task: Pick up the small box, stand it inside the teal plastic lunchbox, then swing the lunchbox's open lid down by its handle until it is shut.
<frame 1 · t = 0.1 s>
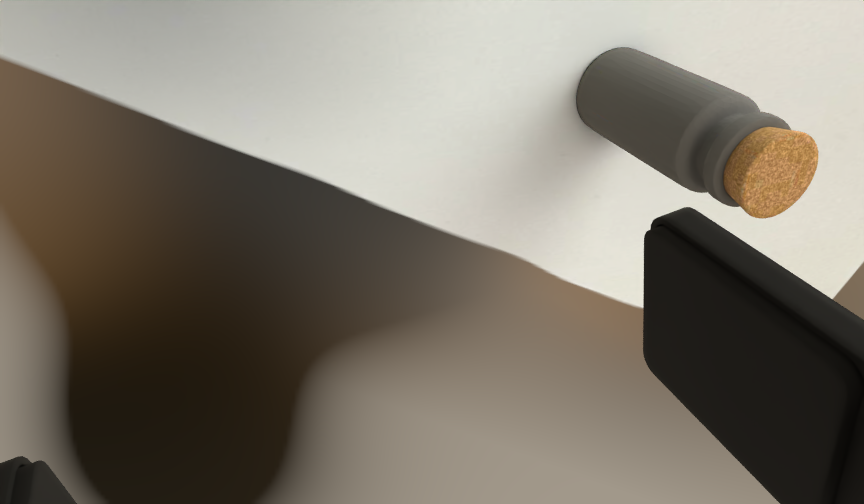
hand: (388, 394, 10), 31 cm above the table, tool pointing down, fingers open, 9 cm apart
bottle: (611, 89, 47), on the table
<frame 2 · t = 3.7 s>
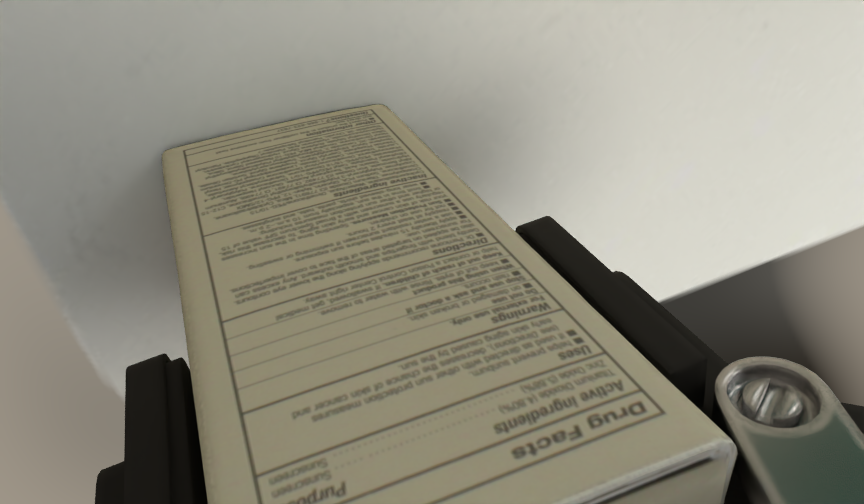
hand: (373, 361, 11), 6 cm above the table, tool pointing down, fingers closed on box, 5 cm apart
box: (299, 202, 16), on the table, touching gripper
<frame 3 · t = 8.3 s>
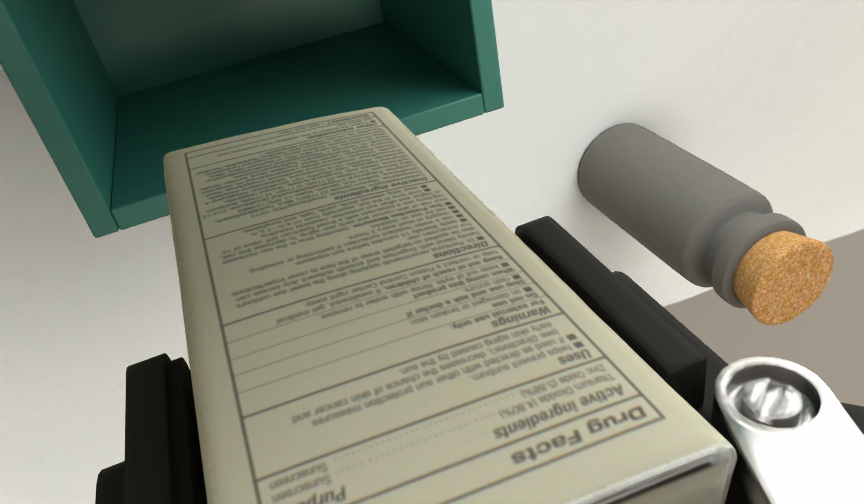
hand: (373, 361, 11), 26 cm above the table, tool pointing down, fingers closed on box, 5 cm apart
box: (300, 204, 16), point 20 cm above the table, touching gripper
bottle: (614, 164, 45), on the table
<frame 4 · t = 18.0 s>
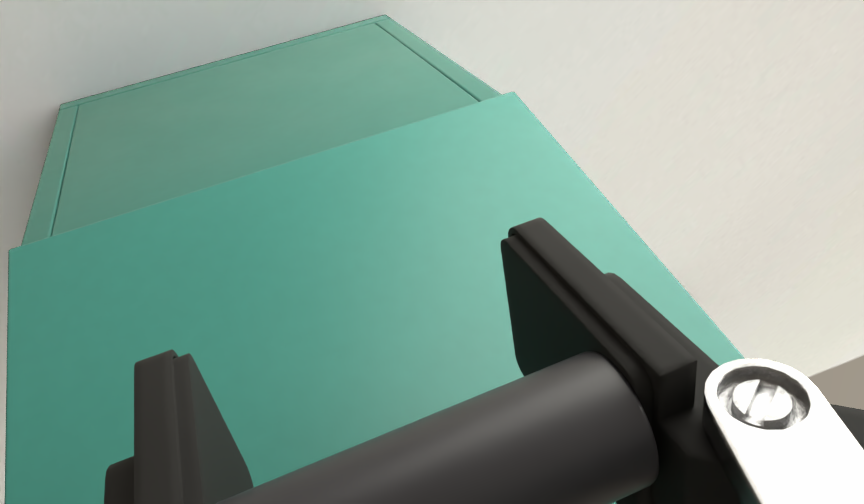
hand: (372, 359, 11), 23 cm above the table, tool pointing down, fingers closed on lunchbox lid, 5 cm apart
lunchbox lid: (344, 302, 13), point 21 cm above the table, hinge at 75.0°, touching gripper
lunchbox: (276, 189, 34), on the table
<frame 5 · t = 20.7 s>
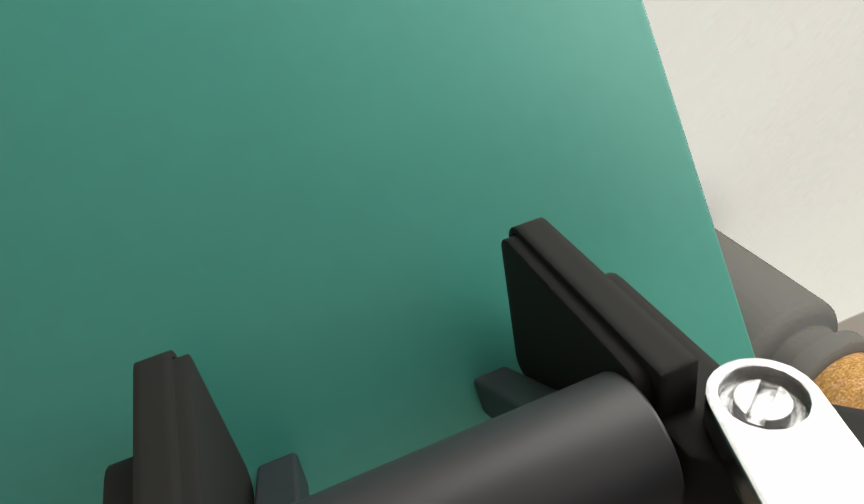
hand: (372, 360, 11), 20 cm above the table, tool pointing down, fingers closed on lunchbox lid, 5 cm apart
lunchbox lid: (302, 142, 10), point 19 cm above the table, hinge at 31.3°, touching gripper
bottle: (650, 246, 41), on the table
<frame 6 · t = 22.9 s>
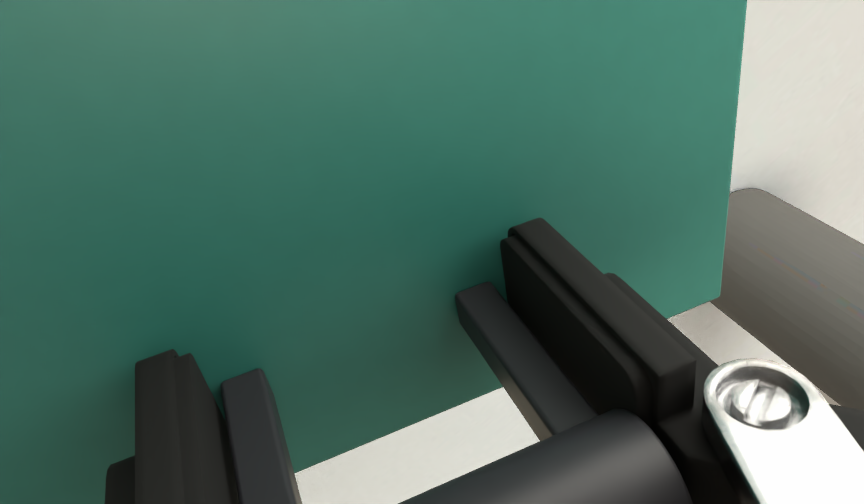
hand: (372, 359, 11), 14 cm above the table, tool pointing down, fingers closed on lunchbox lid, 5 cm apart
lunchbox lid: (314, 107, 7), point 16 cm above the table, hinge at -0.2°, touching gripper, lunchbox
bottle: (726, 238, 34), on the table
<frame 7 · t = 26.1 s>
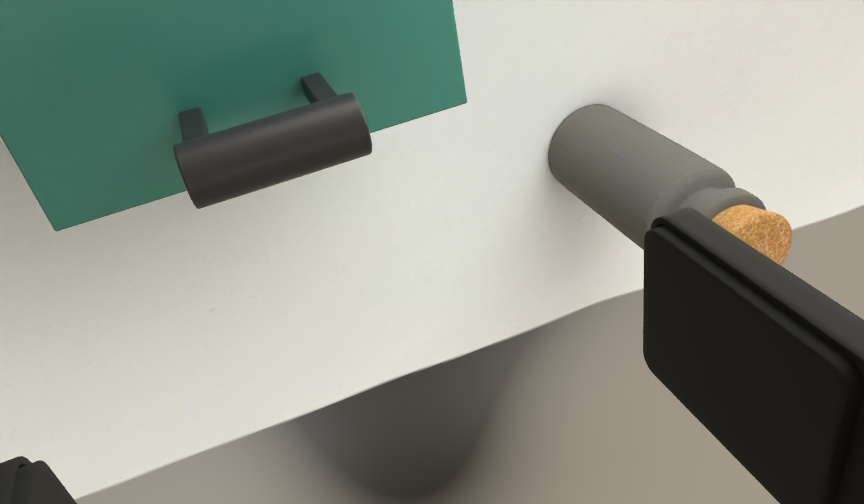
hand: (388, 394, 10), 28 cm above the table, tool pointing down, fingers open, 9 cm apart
bottle: (585, 145, 45), on the table
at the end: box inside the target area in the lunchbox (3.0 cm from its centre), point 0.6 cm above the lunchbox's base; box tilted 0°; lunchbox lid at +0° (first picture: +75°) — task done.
